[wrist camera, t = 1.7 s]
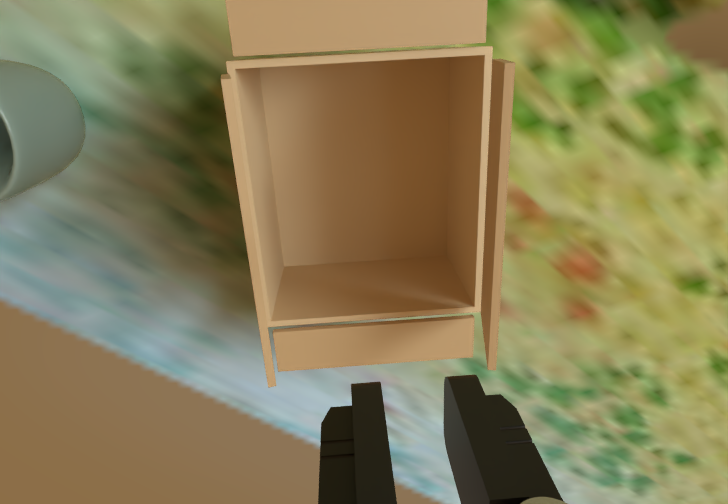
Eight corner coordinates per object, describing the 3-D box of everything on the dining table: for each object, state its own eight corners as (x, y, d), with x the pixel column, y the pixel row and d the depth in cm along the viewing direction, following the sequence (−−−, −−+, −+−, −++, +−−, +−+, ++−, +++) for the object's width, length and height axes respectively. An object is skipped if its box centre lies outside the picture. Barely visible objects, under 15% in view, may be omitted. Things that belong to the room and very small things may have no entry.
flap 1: (229, 73, 25) (221, 74, 25) (231, 78, 19) (220, 79, 19) (266, 327, 30) (260, 328, 30) (276, 385, 25) (268, 387, 25)
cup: (113, 168, 36) (37, 209, 27) (5, 172, 36) (-110, 215, 27) (87, 54, 33) (-9, 56, 24) (-31, 58, 33) (-174, 61, 24)
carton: (246, 6, 32) (213, -10, 24) (456, -5, 33) (500, -25, 24) (284, 304, 41) (270, 372, 32) (451, 292, 41) (481, 356, 33)
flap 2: (480, 312, 31) (487, 312, 31) (488, 369, 25) (495, 370, 25) (492, 59, 25) (500, 58, 25) (504, 63, 20) (515, 62, 20)
